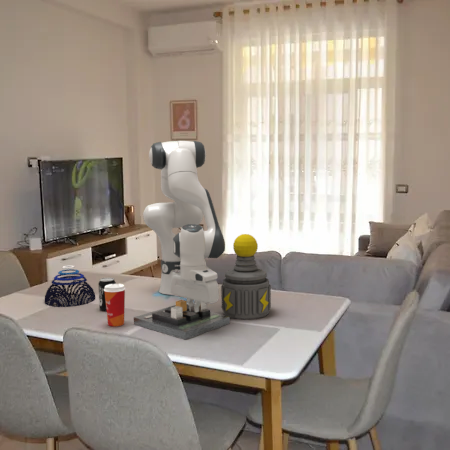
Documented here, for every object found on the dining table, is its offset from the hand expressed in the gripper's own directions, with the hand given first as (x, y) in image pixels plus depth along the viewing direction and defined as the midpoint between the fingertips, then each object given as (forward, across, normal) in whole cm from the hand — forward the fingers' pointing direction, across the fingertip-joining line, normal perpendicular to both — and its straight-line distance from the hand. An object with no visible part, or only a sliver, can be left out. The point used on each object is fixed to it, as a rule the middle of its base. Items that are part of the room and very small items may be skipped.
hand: (194, 311), depth 194 cm
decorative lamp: (+6, +3, +25) cm, 26 cm away
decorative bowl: (+6, -66, -7) cm, 67 cm away
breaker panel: (+6, -6, 0) cm, 9 cm away
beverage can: (+6, -42, -5) cm, 43 cm away
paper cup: (+6, -24, -15) cm, 29 cm away
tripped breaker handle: (+1, -6, 0) cm, 6 cm away
